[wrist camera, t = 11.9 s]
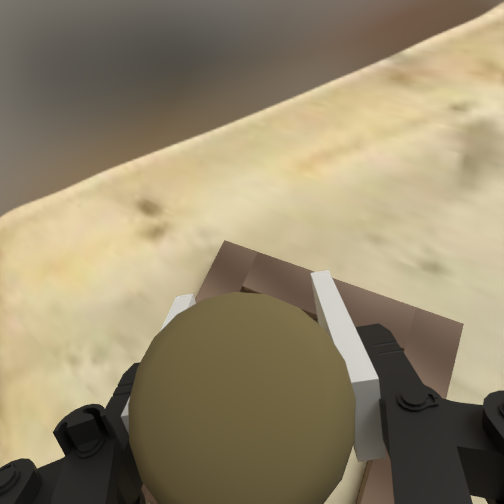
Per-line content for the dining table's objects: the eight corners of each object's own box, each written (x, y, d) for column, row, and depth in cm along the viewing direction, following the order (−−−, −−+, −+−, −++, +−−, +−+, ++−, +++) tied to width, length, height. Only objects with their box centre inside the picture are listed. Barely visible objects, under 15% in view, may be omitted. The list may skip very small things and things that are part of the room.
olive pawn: (216, 341, 18) (102, 266, 8) (333, 335, 17) (363, 244, 8) (213, 477, 16) (49, 601, 6) (349, 476, 15) (427, 620, 5)
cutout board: (228, 247, 25) (224, 240, 24) (455, 328, 20) (463, 324, 19) (118, 470, 20) (107, 474, 19) (380, 637, 16) (385, 654, 15)
